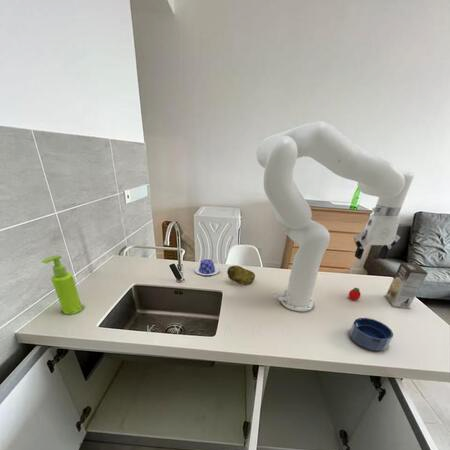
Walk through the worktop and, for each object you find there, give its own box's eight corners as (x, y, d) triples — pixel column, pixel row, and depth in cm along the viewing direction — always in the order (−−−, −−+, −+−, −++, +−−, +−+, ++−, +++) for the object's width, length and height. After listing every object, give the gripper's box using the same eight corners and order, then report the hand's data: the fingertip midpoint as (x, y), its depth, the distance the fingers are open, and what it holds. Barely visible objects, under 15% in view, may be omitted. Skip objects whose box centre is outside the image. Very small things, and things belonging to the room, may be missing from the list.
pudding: (189, 272, 117) (189, 262, 114) (202, 264, 126) (202, 254, 123) (211, 278, 112) (211, 268, 110) (223, 269, 121) (223, 259, 119)
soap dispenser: (56, 313, 84) (35, 258, 73) (73, 303, 89) (56, 251, 79) (69, 317, 82) (49, 262, 72) (85, 307, 88) (70, 255, 77)
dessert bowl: (361, 352, 75) (367, 340, 72) (342, 329, 84) (347, 318, 81) (394, 351, 76) (401, 339, 73) (372, 329, 85) (378, 317, 83)
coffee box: (384, 295, 107) (400, 261, 98) (400, 297, 106) (417, 263, 97) (392, 306, 99) (410, 270, 91) (409, 309, 98) (429, 273, 90)
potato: (255, 287, 107) (257, 271, 103) (226, 286, 107) (227, 269, 103) (254, 279, 114) (256, 263, 110) (226, 277, 114) (227, 261, 110)
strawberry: (350, 301, 101) (354, 291, 98) (345, 296, 105) (348, 286, 102) (360, 301, 101) (364, 291, 99) (354, 296, 105) (358, 286, 103)
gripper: (369, 213, 80) (353, 261, 89) (417, 214, 82) (397, 261, 91) (357, 208, 86) (343, 254, 95) (402, 209, 88) (384, 254, 97)
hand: (369, 257), depth 93 cm, fingers open, 9 cm apart
